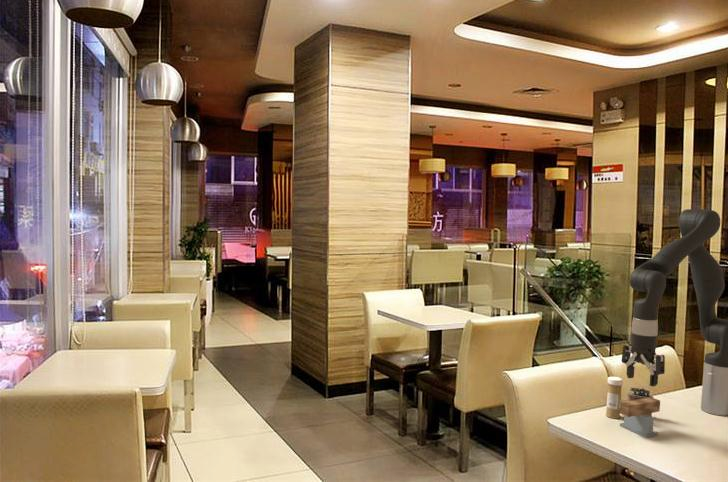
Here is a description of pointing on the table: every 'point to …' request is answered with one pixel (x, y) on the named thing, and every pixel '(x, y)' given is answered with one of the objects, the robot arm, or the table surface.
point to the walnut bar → (639, 407)
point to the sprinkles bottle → (614, 397)
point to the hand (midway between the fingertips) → (641, 381)
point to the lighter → (639, 394)
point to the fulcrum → (640, 425)
